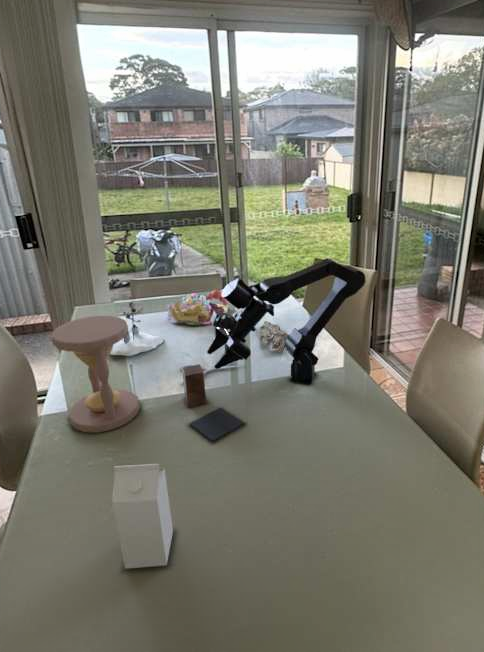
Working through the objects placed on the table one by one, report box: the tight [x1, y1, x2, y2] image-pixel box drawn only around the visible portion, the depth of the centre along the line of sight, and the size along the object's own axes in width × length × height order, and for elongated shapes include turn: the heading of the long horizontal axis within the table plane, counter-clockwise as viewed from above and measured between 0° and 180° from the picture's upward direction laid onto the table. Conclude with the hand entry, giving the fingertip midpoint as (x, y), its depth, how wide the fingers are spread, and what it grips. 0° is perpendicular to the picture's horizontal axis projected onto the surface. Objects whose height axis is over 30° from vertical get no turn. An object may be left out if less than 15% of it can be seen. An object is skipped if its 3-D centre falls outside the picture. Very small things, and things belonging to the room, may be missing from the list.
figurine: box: [110, 301, 164, 357], centre depth 154 cm, size 20×18×16 cm
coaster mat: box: [189, 407, 245, 443], centre depth 113 cm, size 10×10×1 cm
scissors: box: [182, 361, 240, 385], centre depth 140 cm, size 11×1×20 cm
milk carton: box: [111, 463, 174, 569], centre depth 76 cm, size 7×7×19 cm
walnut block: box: [181, 364, 207, 408], centre depth 122 cm, size 5×5×10 cm
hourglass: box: [51, 315, 141, 434], centre depth 114 cm, size 18×18×25 cm
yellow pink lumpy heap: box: [167, 289, 229, 326], centre depth 182 cm, size 25×24×9 cm
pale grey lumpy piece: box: [259, 320, 290, 354], centre depth 161 cm, size 25×10×5 cm
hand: (211, 360), depth 121 cm, fingers open, 9 cm apart
